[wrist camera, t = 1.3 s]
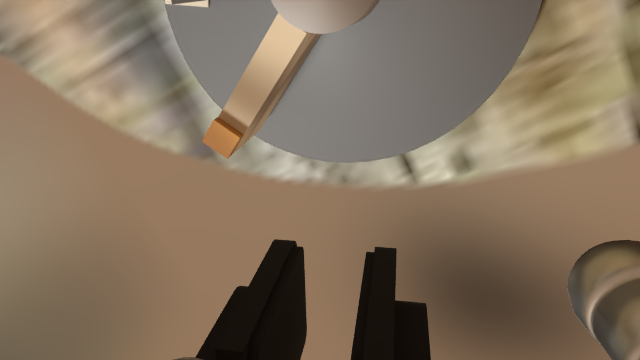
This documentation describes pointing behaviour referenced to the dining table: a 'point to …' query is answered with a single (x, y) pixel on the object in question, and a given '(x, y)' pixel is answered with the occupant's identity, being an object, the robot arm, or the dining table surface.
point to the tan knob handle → (278, 65)
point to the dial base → (363, 70)
